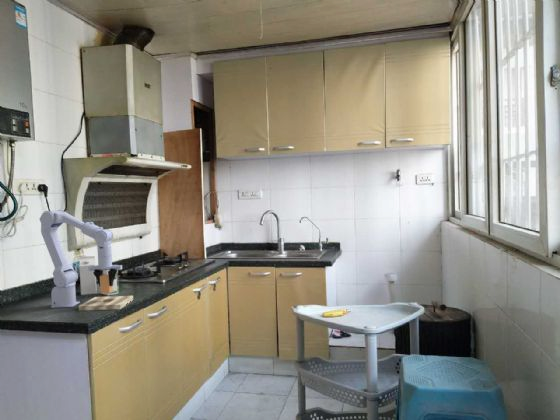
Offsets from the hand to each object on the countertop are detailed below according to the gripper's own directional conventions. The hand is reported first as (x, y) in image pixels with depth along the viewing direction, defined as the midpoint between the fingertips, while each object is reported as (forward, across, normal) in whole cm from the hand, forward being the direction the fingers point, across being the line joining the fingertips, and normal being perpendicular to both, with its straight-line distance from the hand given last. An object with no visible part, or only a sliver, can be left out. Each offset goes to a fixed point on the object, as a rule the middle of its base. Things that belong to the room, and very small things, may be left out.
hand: (106, 286), depth 187 cm
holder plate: (+9, 0, 0) cm, 9 cm away
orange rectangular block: (+3, 0, 0) cm, 3 cm away
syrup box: (+9, +7, -22) cm, 25 cm away
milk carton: (+9, +20, -26) cm, 34 cm away
